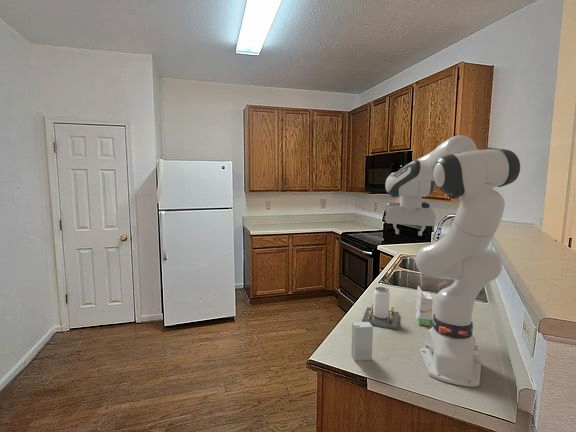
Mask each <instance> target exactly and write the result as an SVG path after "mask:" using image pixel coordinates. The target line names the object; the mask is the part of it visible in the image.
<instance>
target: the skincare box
mask: <svg viewBox="0 0 576 432" xmlns="http://www.w3.org/2000/svg"><path fill="white" fill-rule="evenodd" d="M351 324H352V325H351V356H352V358H353V360H354V362H361V361H362V362H363V361H364V362H365V361H372V360H373V338H374V337H373V335H374V326H373V325H371V324H370V323H369V322H362V321H355V322H354V321H353V322H352V323H351Z"/></svg>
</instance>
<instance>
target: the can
mask: <svg viewBox="0 0 576 432" xmlns="http://www.w3.org/2000/svg"><path fill="white" fill-rule="evenodd" d="M390 296H391V295H390V289H388V288H387V287H384V286H378V287H375V290H374V292H373V304H374V305H373V315H374V316H375V317H377V318H380V319H385V318H387V317H388V316H389V311H390Z"/></svg>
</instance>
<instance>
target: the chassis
mask: <svg viewBox="0 0 576 432" xmlns="http://www.w3.org/2000/svg"><path fill="white" fill-rule="evenodd" d="M373 305H374V303H371V307H370V306H369V307H366V309H365V312H364V314H363V316H362V319H361V322H369V323H370V324H371V325H372V326H373V327H374V326H375V327H380V328H386V329H391V330H394V331H395V330H398V324H399V323H398V322H399V317H400V312H399V311H395V310H394V309H395V307H394V306H391V307H390V310H389V316H388V317H387V318H385V319H380V318H377V317H375V316H374V315H373Z"/></svg>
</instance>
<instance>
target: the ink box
mask: <svg viewBox="0 0 576 432" xmlns="http://www.w3.org/2000/svg"><path fill="white" fill-rule="evenodd" d="M433 302H434V299H433V298H432V295H430V293H429V292H425V291H423V290H422V289H421V287H420V286H419V285H417V292H416V302H415V303H416V306H415V319H416V321H417V323H418V325H419V326H427V327H428V326H429V327H432V326H431V325H432V313H433Z"/></svg>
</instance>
